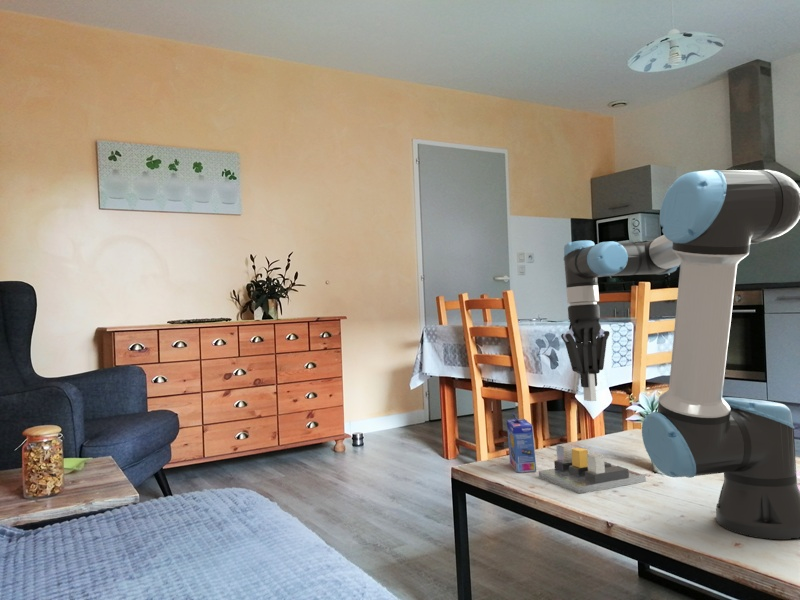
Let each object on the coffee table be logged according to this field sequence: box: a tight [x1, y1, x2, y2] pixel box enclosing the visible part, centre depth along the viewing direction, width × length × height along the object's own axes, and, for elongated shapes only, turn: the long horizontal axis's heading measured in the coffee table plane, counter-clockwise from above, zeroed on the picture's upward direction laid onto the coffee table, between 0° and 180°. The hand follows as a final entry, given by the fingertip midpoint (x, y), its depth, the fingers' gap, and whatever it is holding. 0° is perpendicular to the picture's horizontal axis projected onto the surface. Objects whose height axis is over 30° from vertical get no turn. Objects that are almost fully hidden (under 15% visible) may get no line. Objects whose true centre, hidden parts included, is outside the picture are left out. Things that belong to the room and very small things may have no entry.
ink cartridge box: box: [506, 412, 538, 474], centre depth 159 cm, size 10×6×14 cm, turn 1°
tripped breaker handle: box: [571, 447, 589, 468], centre depth 144 cm, size 3×2×4 cm
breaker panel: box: [538, 443, 647, 495], centre depth 145 cm, size 16×19×8 cm
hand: (590, 400), depth 145 cm, fingers closed
